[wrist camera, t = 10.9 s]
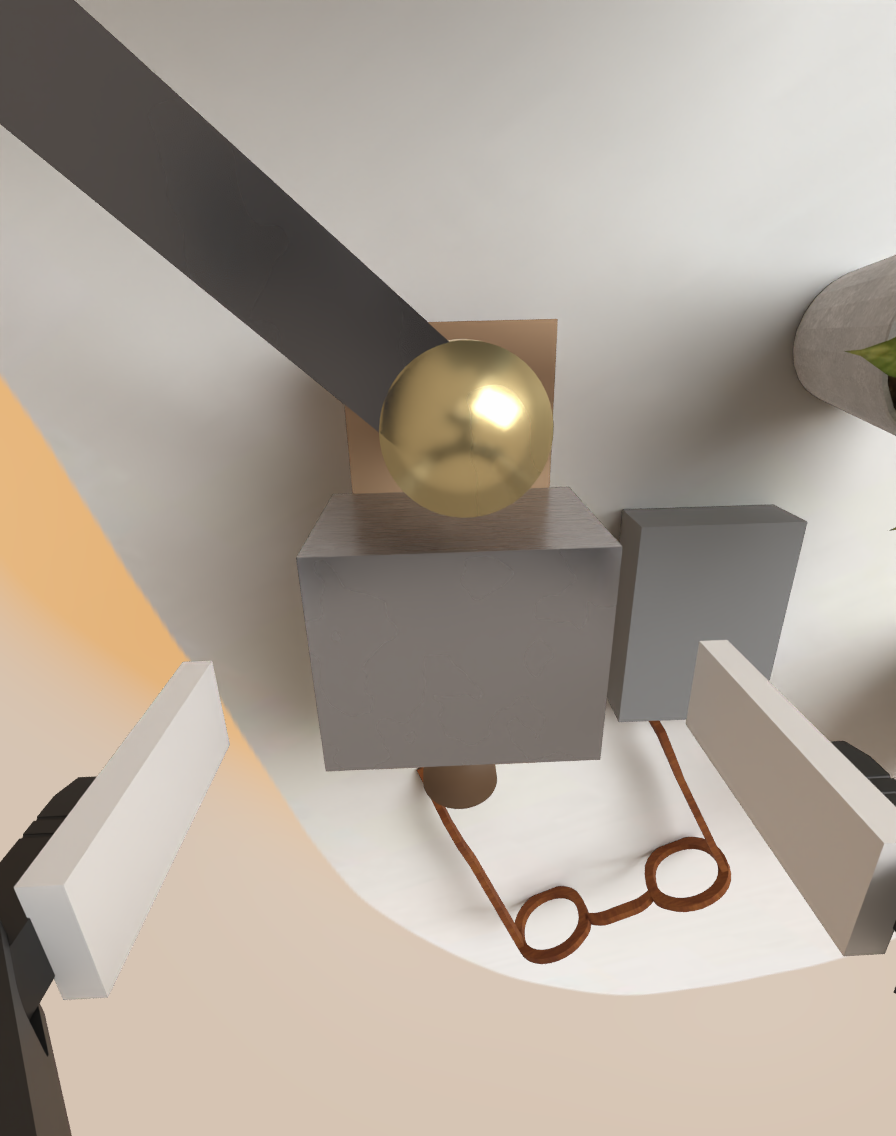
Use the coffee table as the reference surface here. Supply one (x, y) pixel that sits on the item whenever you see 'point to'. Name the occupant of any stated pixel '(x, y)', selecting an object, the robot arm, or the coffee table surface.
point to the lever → (271, 262)
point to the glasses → (616, 912)
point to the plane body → (373, 476)
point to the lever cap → (459, 631)
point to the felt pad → (696, 598)
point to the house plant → (853, 344)
